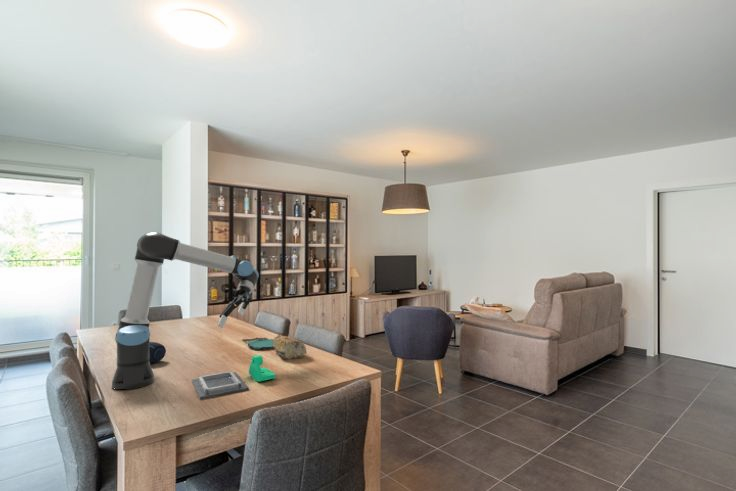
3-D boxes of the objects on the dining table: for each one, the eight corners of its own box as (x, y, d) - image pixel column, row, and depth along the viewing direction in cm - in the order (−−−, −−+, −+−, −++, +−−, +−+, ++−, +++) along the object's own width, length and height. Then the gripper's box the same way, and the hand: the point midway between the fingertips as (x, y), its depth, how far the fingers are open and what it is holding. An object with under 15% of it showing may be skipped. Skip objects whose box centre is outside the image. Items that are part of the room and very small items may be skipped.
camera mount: (276, 380, 162) (276, 356, 162) (258, 384, 158) (258, 359, 158) (265, 372, 172) (265, 350, 172) (248, 376, 167) (248, 353, 167)
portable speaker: (112, 361, 188) (112, 341, 188) (130, 356, 198) (130, 337, 198) (151, 366, 181) (151, 345, 181) (168, 360, 190) (168, 340, 190)
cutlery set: (253, 352, 204) (253, 348, 204) (238, 342, 229) (238, 338, 229) (288, 347, 215) (288, 343, 215) (270, 338, 240) (270, 334, 240)
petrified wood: (269, 352, 203) (272, 333, 205) (291, 354, 210) (294, 335, 212) (282, 360, 187) (286, 339, 189) (305, 361, 194) (309, 342, 196)
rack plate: (199, 399, 141) (199, 393, 141) (191, 381, 160) (191, 376, 160) (248, 389, 151) (248, 383, 151) (235, 374, 169) (235, 368, 169)
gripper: (266, 284, 189) (255, 313, 170) (232, 306, 197) (217, 336, 179) (256, 274, 185) (243, 302, 167) (221, 297, 194) (205, 326, 175)
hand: (230, 320), depth 173 cm, fingers open, 13 cm apart
